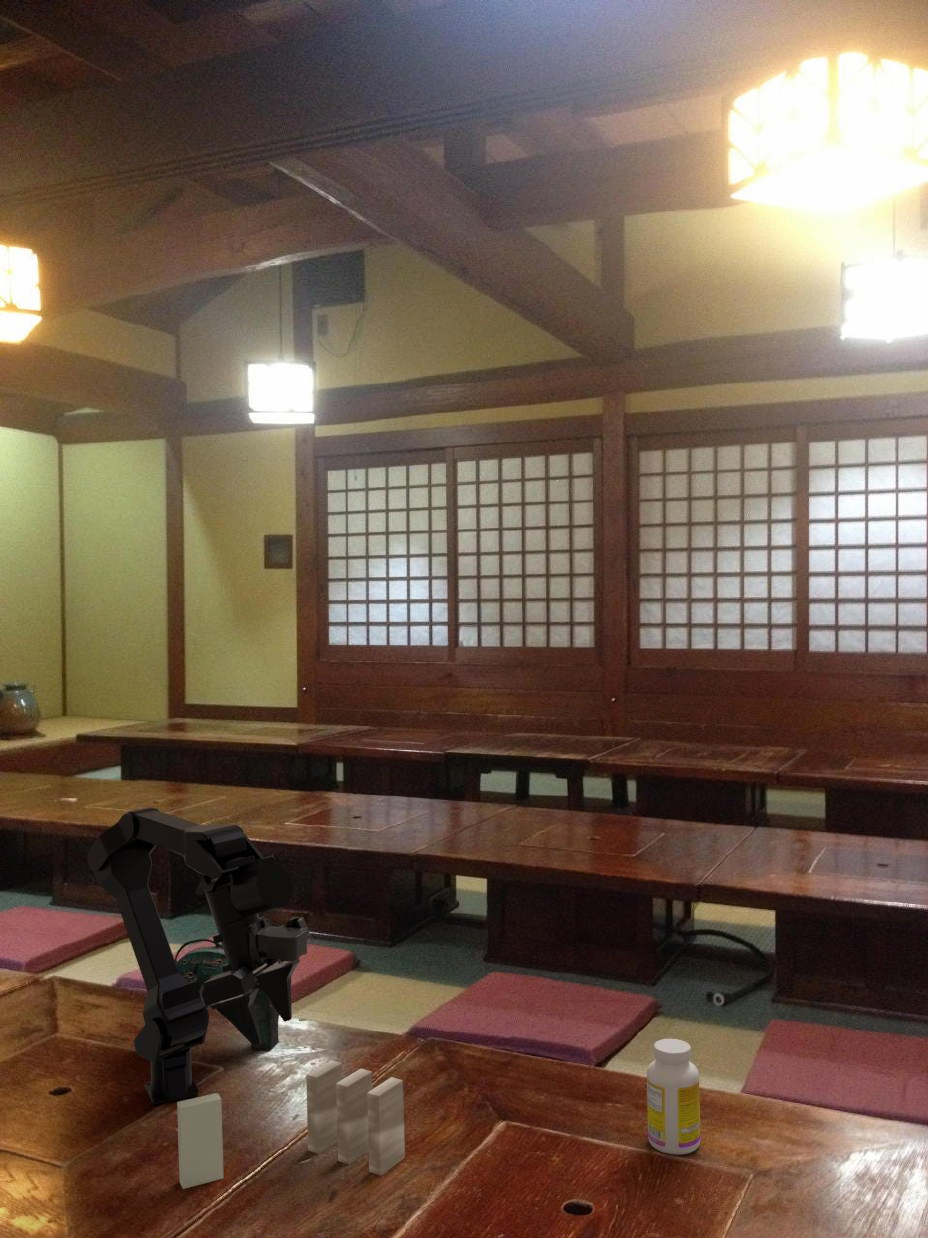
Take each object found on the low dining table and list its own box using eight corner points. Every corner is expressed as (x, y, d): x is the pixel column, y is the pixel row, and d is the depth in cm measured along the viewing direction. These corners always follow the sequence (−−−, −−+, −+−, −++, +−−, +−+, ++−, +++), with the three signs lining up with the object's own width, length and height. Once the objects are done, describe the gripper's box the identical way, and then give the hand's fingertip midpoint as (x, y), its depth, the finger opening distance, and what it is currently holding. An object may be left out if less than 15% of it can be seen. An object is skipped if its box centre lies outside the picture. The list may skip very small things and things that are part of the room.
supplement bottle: (703, 1135, 146) (702, 1038, 146) (697, 1160, 140) (695, 1059, 139) (652, 1128, 148) (650, 1032, 148) (643, 1152, 142) (642, 1053, 142)
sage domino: (179, 1182, 137) (177, 1102, 137) (219, 1171, 140) (217, 1093, 139) (182, 1189, 136) (180, 1108, 135) (223, 1178, 138) (221, 1099, 138)
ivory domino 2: (338, 1161, 142) (336, 1083, 141) (362, 1144, 146) (360, 1068, 145) (349, 1165, 141) (347, 1086, 140) (373, 1147, 145) (371, 1071, 144)
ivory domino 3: (369, 1172, 139) (367, 1092, 138) (393, 1154, 143) (391, 1077, 143) (380, 1176, 138) (378, 1096, 137) (404, 1158, 142) (402, 1080, 142)
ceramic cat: (291, 1041, 179) (288, 917, 178) (275, 1058, 173) (272, 930, 172) (177, 1031, 184) (174, 911, 183) (158, 1048, 177) (154, 923, 176)
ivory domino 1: (308, 1150, 144) (306, 1074, 144) (333, 1134, 148) (331, 1060, 148) (318, 1154, 143) (316, 1077, 143) (343, 1137, 147) (341, 1063, 147)
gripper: (256, 920, 139) (295, 1042, 138) (316, 886, 157) (352, 994, 156) (181, 944, 142) (219, 1064, 141) (249, 908, 160) (283, 1015, 159)
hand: (273, 1032), depth 149 cm, fingers open, 9 cm apart
